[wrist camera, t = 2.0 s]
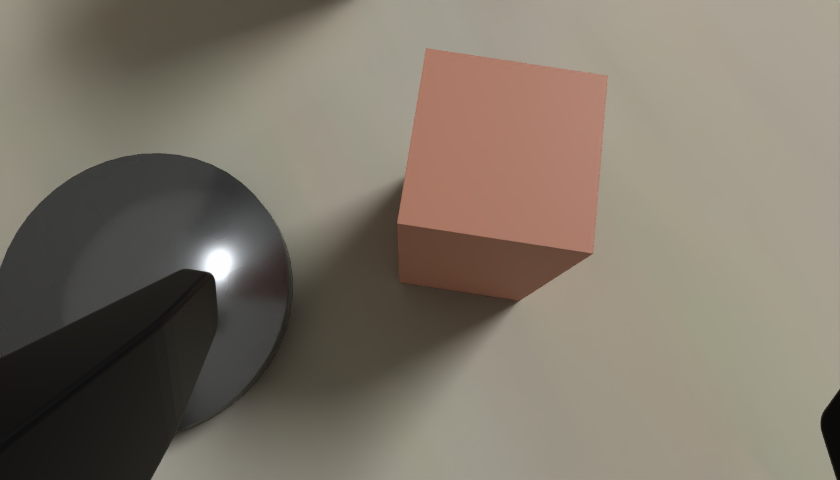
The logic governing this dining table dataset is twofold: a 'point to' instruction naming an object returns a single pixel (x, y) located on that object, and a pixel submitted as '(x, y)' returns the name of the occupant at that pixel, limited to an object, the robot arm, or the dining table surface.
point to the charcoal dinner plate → (154, 262)
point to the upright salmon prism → (500, 175)
